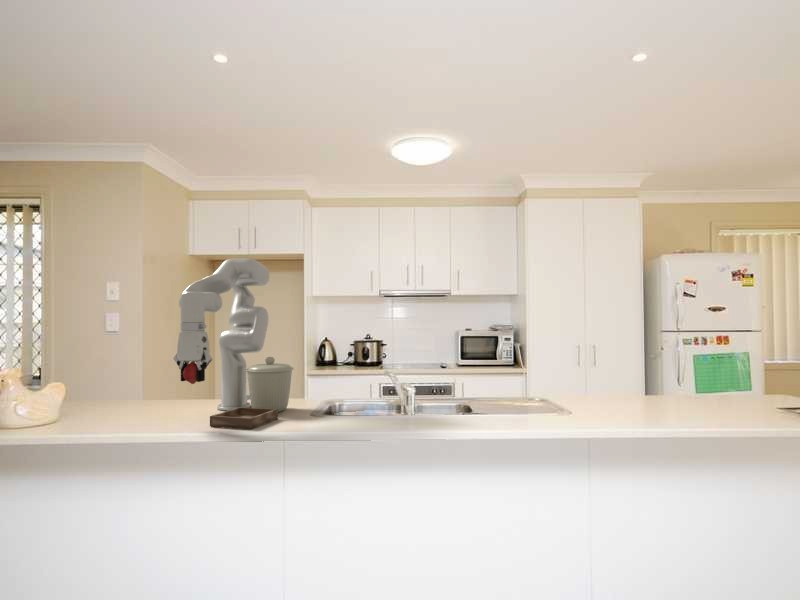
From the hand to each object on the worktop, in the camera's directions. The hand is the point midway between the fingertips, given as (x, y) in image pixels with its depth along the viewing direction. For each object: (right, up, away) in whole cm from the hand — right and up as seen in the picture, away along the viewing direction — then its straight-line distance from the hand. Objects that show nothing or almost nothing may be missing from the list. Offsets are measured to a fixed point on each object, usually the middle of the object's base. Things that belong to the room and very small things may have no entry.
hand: (192, 380), depth 155 cm
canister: (+20, -16, +23) cm, 34 cm away
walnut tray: (+17, -15, +3) cm, 23 cm away
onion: (0, -1, 0) cm, 1 cm away
